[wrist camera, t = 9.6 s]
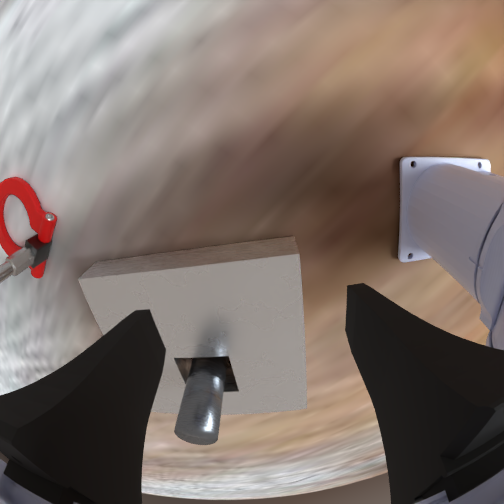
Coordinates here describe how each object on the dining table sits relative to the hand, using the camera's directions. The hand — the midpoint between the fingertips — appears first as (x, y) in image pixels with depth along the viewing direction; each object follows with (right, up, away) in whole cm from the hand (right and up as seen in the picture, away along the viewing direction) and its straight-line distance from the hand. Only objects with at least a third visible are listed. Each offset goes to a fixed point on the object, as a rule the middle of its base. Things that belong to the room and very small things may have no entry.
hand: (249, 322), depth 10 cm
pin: (-4, -6, +14) cm, 16 cm away
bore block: (-4, -5, +14) cm, 15 cm away
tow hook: (-22, +5, +10) cm, 24 cm away
